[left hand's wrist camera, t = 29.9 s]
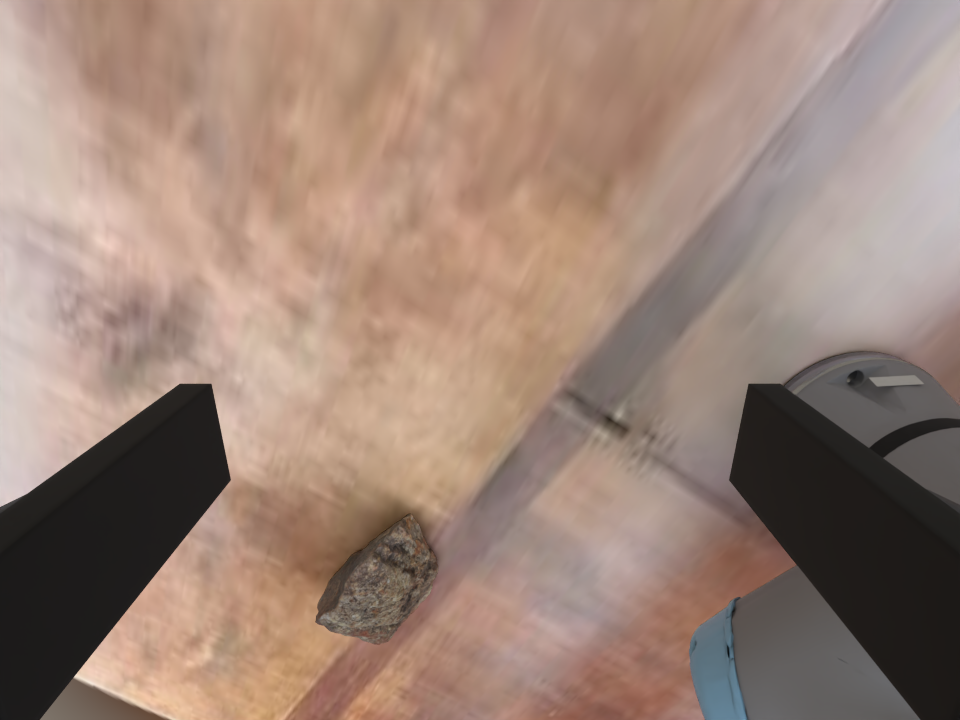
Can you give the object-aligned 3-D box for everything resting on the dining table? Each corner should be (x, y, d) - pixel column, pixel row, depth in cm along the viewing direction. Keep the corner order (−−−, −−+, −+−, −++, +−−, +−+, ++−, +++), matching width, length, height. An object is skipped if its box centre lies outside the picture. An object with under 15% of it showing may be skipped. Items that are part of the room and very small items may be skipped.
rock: (304, 568, 52) (379, 621, 54) (267, 646, 44) (356, 703, 46) (397, 489, 47) (474, 551, 49) (374, 561, 39) (467, 629, 42)
